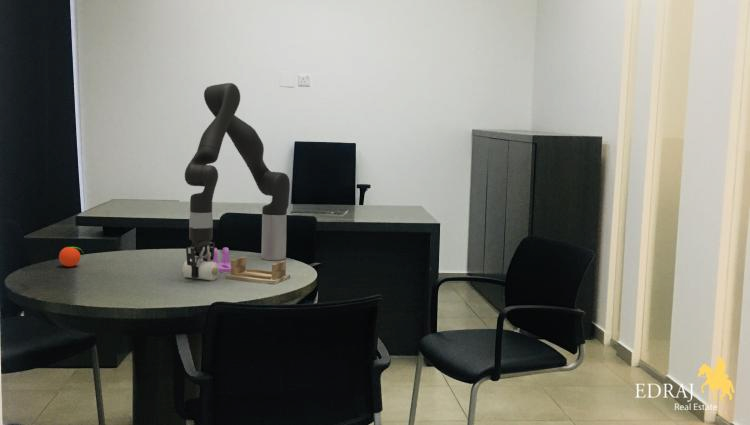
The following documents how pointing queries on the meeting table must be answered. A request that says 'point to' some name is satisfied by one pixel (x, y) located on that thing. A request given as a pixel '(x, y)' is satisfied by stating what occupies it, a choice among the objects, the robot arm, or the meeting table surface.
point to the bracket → (223, 265)
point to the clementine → (69, 256)
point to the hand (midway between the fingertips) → (200, 275)
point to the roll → (202, 270)
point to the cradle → (257, 272)
